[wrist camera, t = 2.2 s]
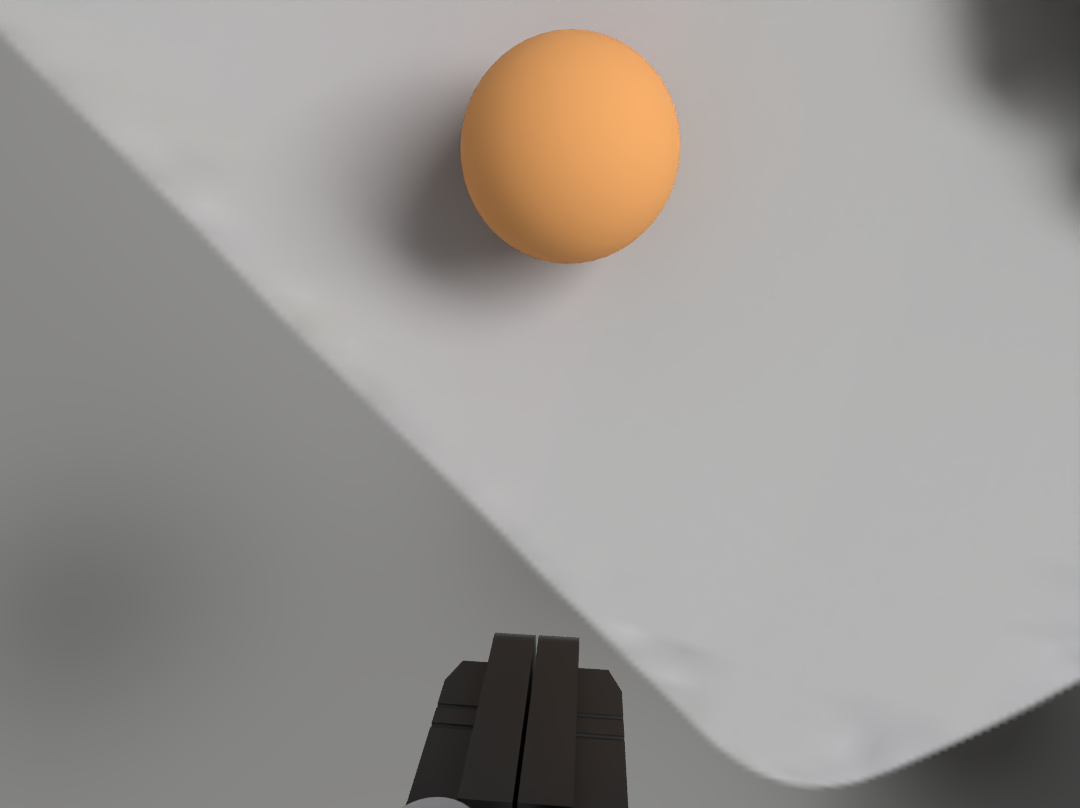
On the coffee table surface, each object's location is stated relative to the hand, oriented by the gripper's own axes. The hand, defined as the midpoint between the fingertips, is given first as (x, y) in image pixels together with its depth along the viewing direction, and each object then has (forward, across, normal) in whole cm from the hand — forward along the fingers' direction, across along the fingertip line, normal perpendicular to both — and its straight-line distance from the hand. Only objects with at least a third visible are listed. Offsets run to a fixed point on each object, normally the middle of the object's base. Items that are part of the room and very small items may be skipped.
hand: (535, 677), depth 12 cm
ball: (+8, 0, -9) cm, 12 cm away
